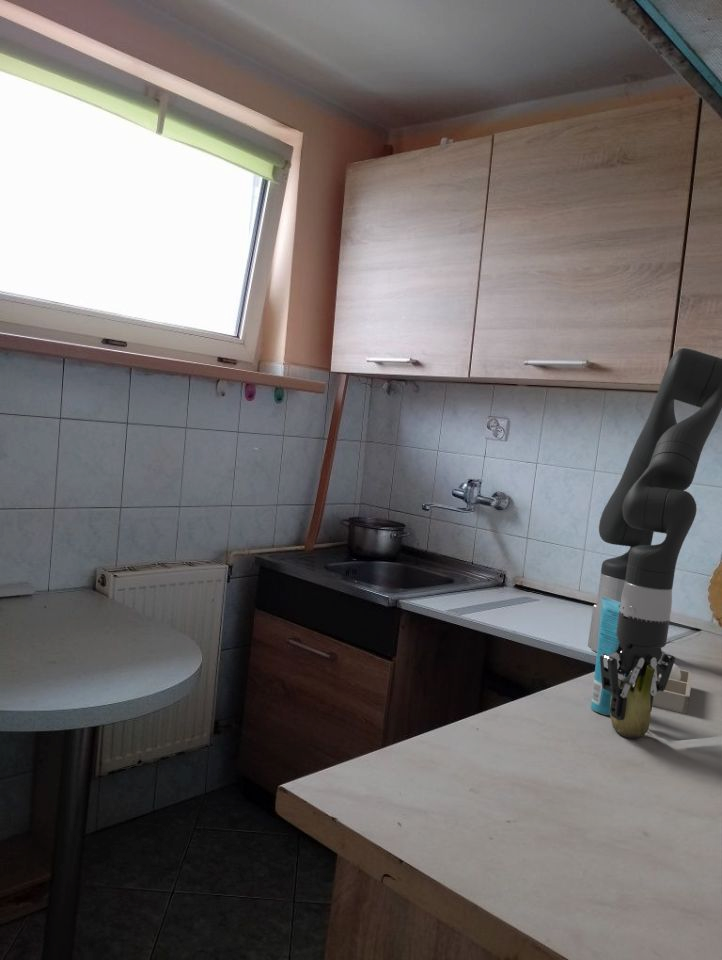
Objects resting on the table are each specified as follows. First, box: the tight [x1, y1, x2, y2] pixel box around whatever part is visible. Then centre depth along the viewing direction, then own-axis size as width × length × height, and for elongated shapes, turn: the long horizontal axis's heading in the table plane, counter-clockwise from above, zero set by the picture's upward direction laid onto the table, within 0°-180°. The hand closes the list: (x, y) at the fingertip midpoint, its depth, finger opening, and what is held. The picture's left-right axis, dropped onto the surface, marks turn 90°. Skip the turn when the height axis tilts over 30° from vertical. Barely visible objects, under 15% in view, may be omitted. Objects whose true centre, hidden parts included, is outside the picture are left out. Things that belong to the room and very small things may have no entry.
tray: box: [652, 668, 693, 715], centre depth 140 cm, size 17×9×4 cm, turn 154°
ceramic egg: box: [659, 663, 681, 681], centre depth 144 cm, size 5×5×5 cm
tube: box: [590, 597, 626, 716], centre depth 130 cm, size 7×5×19 cm, turn 39°
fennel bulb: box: [609, 665, 655, 739], centre depth 121 cm, size 6×5×12 cm
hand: (629, 716), depth 121 cm, fingers closed on fennel bulb, 4 cm apart
